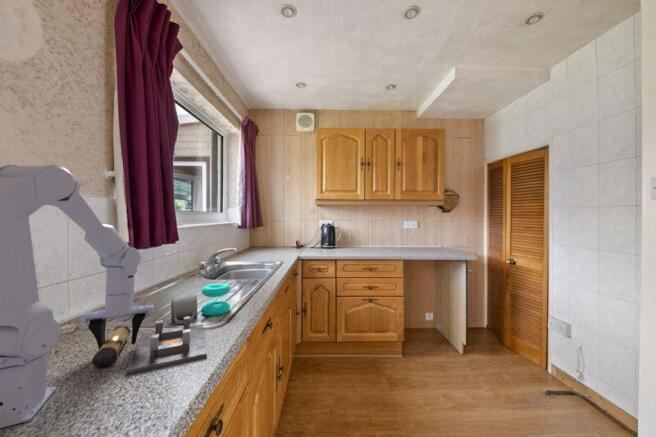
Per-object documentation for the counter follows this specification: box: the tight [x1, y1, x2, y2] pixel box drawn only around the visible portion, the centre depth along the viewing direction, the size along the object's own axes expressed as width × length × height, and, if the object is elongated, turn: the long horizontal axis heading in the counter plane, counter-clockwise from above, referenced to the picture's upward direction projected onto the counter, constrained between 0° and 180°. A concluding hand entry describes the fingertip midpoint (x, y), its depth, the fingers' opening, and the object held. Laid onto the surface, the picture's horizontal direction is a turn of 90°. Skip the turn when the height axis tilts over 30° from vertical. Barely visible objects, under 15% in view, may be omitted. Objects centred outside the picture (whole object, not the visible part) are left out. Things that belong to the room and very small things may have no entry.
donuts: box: [200, 282, 231, 317], centre depth 96 cm, size 10×10×10 cm
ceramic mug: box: [170, 294, 198, 325], centre depth 88 cm, size 11×8×8 cm
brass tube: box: [92, 324, 131, 369], centre depth 65 cm, size 16×4×4 cm, turn 29°
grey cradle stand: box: [125, 316, 208, 376], centre depth 68 cm, size 21×16×6 cm
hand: (118, 345), depth 65 cm, fingers open, 6 cm apart
